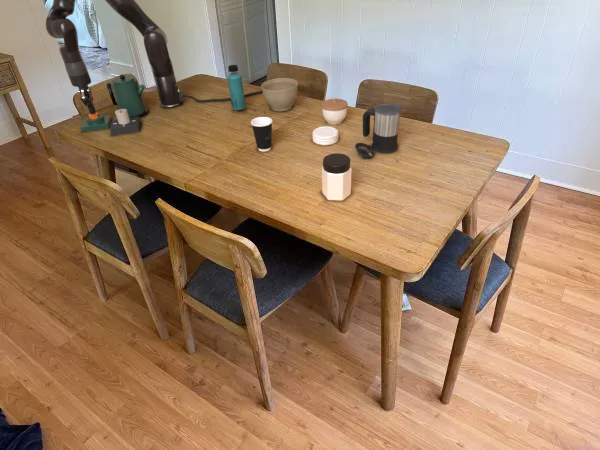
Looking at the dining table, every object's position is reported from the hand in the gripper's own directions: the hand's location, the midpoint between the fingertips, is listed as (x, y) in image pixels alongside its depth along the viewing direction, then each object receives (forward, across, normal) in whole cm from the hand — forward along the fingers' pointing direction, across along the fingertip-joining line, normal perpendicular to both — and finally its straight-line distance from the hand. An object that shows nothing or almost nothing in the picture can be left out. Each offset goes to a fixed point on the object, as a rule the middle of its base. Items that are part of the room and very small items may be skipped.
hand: (93, 113), depth 177 cm
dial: (+3, +8, +13) cm, 15 cm away
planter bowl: (+6, +11, +80) cm, 81 cm away
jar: (+6, +86, +81) cm, 118 cm away
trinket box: (+7, +34, +98) cm, 104 cm away
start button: (+2, 0, 0) cm, 2 cm away
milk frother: (+7, +64, +104) cm, 122 cm away
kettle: (+6, -8, +15) cm, 18 cm away
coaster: (+7, +49, +89) cm, 102 cm away
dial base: (+6, +8, +13) cm, 16 cm away
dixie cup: (+6, +48, +65) cm, 81 cm away
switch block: (+6, 0, 0) cm, 6 cm away
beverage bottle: (+6, +7, +62) cm, 62 cm away
